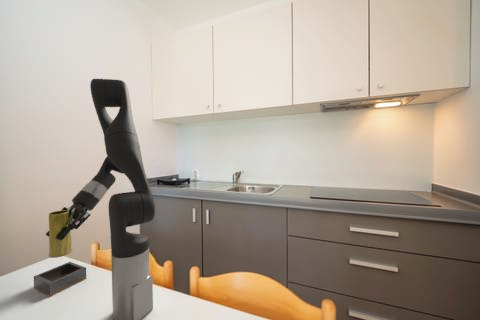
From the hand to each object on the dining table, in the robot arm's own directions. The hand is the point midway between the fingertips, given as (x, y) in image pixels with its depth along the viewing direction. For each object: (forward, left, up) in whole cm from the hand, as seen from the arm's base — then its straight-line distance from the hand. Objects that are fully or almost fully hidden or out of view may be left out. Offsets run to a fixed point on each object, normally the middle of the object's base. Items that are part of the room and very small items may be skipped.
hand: (53, 237), depth 68 cm
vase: (0, -2, -6) cm, 7 cm away
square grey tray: (0, -2, -16) cm, 16 cm away
